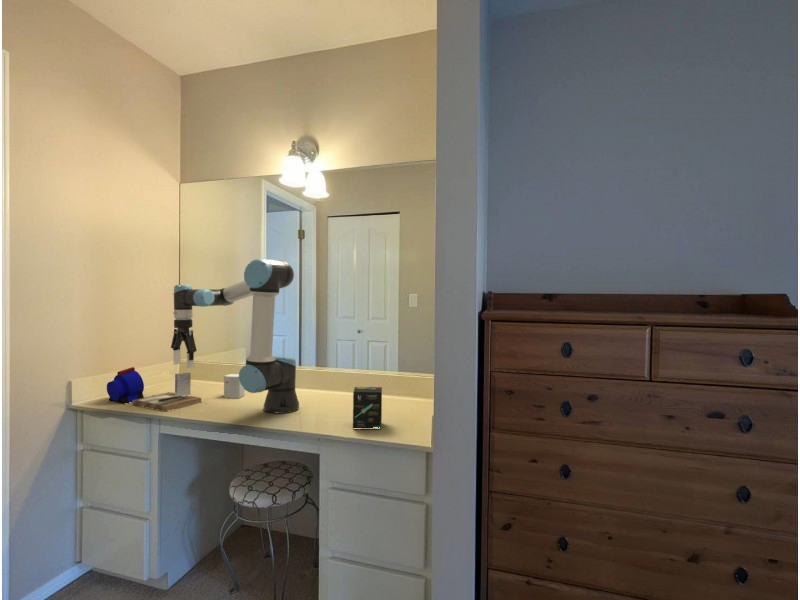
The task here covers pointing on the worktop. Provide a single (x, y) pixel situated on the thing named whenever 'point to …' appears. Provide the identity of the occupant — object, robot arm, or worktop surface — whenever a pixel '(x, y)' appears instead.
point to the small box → (233, 386)
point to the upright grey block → (181, 385)
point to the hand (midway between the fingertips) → (183, 365)
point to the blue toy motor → (126, 386)
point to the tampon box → (367, 407)
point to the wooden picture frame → (166, 401)
